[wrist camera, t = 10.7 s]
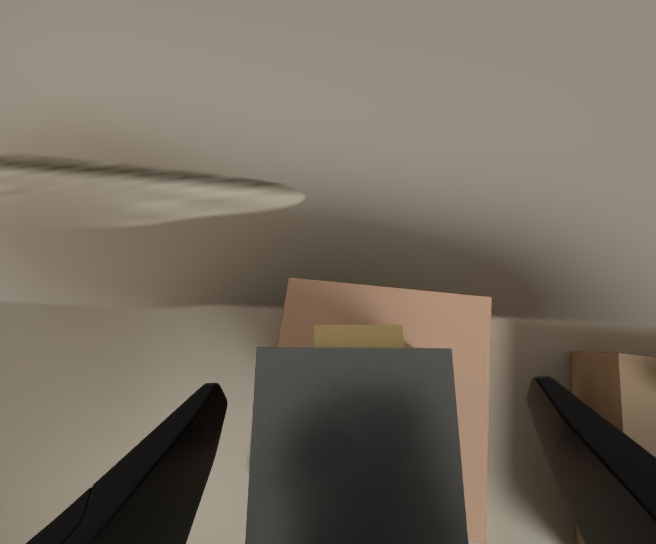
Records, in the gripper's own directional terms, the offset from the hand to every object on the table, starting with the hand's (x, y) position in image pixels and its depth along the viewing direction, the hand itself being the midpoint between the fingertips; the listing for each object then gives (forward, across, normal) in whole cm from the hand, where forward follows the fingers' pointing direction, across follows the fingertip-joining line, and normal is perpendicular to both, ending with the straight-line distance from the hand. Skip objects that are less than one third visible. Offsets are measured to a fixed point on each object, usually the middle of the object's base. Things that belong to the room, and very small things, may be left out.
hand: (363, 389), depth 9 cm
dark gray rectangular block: (+4, 0, +5) cm, 6 cm away
